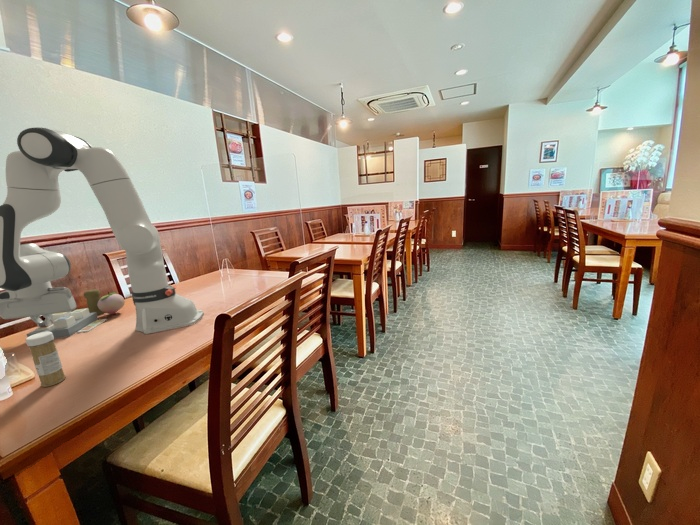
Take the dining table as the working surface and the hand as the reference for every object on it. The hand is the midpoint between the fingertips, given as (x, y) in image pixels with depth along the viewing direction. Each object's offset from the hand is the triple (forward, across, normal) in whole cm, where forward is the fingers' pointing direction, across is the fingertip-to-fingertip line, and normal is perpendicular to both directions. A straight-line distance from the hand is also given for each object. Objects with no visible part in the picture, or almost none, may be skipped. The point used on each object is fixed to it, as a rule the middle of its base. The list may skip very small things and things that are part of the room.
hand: (44, 326), depth 100 cm
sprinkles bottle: (+4, -25, +36) cm, 44 cm away
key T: (+4, 0, 0) cm, 4 cm away
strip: (+4, -12, -4) cm, 13 cm away
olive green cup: (+4, -5, -19) cm, 20 cm away
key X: (+2, -6, 0) cm, 6 cm away
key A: (+2, 0, -8) cm, 8 cm away
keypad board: (+4, -3, -4) cm, 6 cm away
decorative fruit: (+4, -13, -16) cm, 21 cm away
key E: (+2, -6, -8) cm, 10 cm away
